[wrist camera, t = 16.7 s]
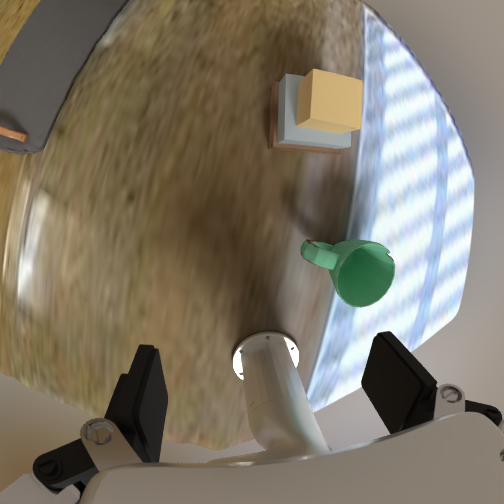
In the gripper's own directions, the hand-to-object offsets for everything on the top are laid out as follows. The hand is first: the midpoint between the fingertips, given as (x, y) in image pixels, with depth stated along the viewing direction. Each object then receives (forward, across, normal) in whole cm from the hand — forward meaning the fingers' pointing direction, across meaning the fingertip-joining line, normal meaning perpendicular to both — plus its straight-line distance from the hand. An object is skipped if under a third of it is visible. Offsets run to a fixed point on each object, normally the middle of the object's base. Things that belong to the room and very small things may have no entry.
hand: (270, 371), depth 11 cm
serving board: (+35, +35, -33) cm, 59 cm away
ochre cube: (+26, -10, -16) cm, 32 cm away
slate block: (+30, -10, -16) cm, 36 cm away
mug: (+34, -16, +5) cm, 38 cm away
